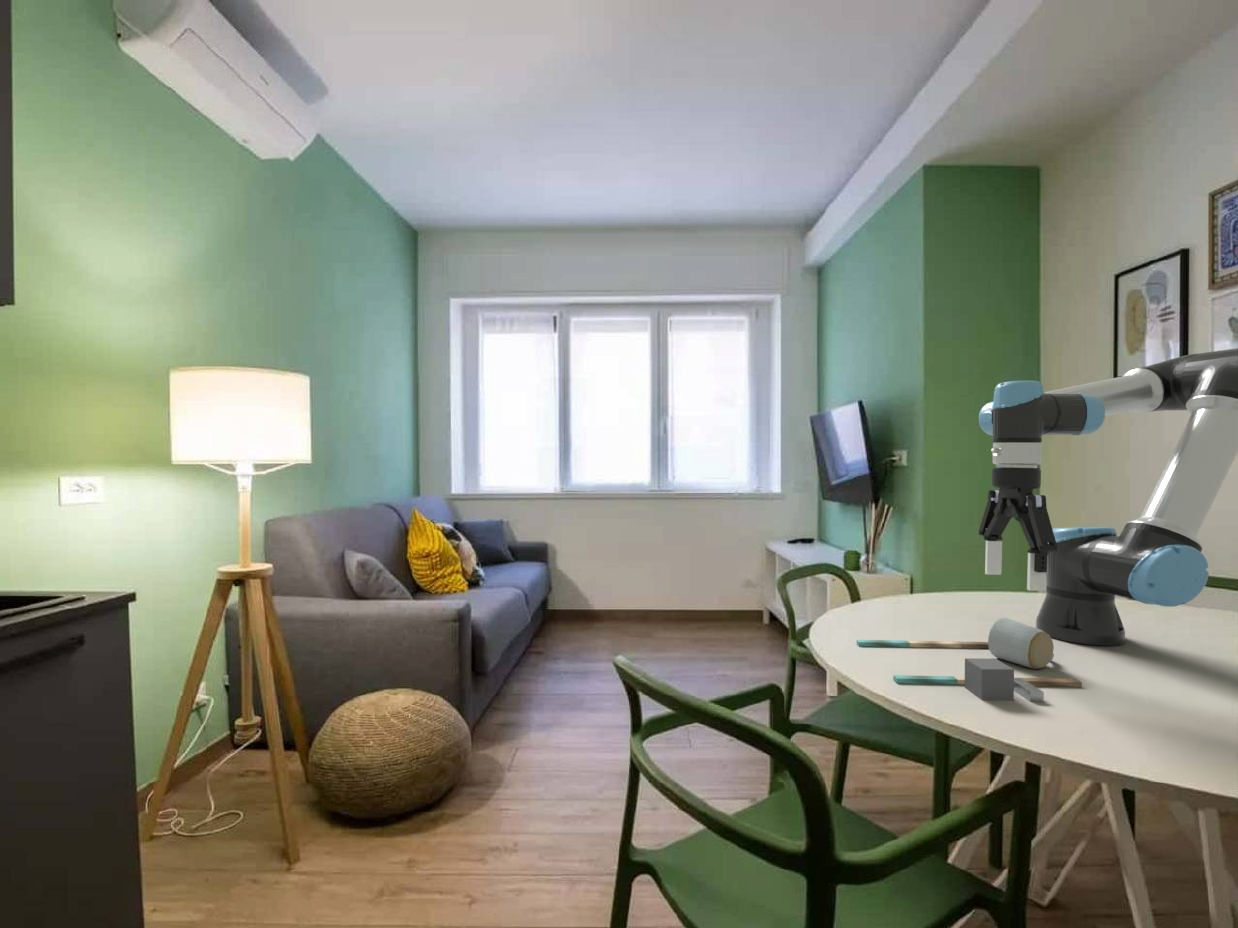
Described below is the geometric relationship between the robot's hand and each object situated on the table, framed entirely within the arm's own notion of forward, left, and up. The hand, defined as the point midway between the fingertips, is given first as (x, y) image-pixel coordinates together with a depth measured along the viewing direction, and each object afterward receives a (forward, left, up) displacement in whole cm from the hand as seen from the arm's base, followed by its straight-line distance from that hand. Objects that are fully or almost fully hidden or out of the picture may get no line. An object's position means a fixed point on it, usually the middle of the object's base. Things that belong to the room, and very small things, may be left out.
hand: (1013, 582), depth 112 cm
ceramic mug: (-3, -2, -16) cm, 16 cm away
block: (+9, +14, -13) cm, 21 cm away
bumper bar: (+6, +14, -15) cm, 21 cm away
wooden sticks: (+10, 0, -15) cm, 18 cm away
